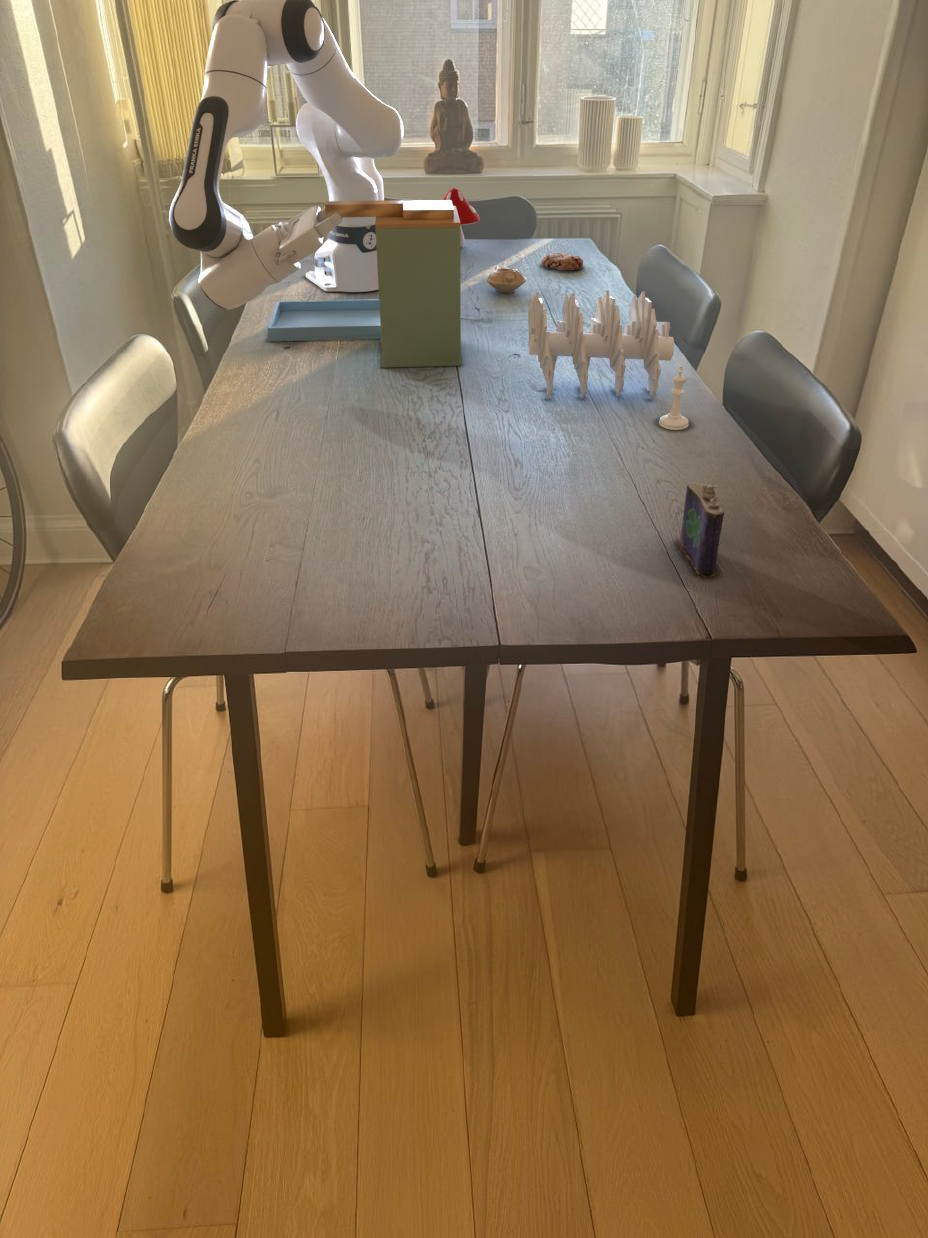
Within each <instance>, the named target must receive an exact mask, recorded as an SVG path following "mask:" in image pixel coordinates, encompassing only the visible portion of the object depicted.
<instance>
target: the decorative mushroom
mask: <svg viewBox="0 0 928 1238" xmlns="http://www.w3.org/2000/svg"><path fill="white" fill-rule="evenodd" d="M441 200H451V201H452V205H453V206H456V209H457V212H458V216H459V220H460V248H462V247H463V246H464V245H465V244H466V243H465V242H466V240H465V235H464V232H463V228H462V226H470V225H473V224H476V223H478V222H480V220H481V218H480V215H479V214H478V212H477V211H476V209H475V208H474V207H473V206H472V205H471V204H470V203H469V201H468V200H467V199H466V198H465V196H464V195H463V193H462V192H461V190H460V189H458V188H455V187H453V188H450V189H449V190H448V191H447V192H446V193H445V196H444V197H443V198H442V199H441Z"/></svg>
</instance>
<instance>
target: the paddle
mask: <svg viewBox="0 0 928 1238" xmlns="http://www.w3.org/2000/svg"><path fill="white" fill-rule="evenodd" d="M324 208H325V216H326V218H329V217H330V216H331V215H332V214H334V213H335V212H339V214H340V215H341V217H403V219H404V220H411V219H454V209H453V205H452V201H451V200H442V199H440V200H439V199H438V200H437V199H436V200H434V199H433V200H404V199H393V200H391V199H390V200H387V199H384V200H383V201H329V200H326V201H325V202H324Z"/></svg>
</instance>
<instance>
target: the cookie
mask: <svg viewBox="0 0 928 1238" xmlns="http://www.w3.org/2000/svg"><path fill="white" fill-rule="evenodd" d="M540 264H541V266H542V267H545V268H548V269H553V268H554V269H555V268H556V270H559V271H565V270H571V271H572V270H574V271H575V270H579V269H582V268H583V266H584V260H583V258H581V257H580V255H579V256H578V255H572V254H569V253H567V252H553V253H550V254H547V255H545V256H544V257H543V258H542V260H541V263H540Z"/></svg>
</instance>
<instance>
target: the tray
mask: <svg viewBox="0 0 928 1238" xmlns="http://www.w3.org/2000/svg"><path fill="white" fill-rule="evenodd" d="M267 337H268V342H305V341H307V342H309V341H311V342H312V341H350V340H351V341H355V340H381V326H380V306H379V298H369V299H368V298H367V299H366V298H365V299H362V298H361V299H360V298H359V299H317V300H316V299H315V300H314V299H313V300H276V301H275V305H274V308H273V310H272V314H271V317H270V320H269V322H268V325H267Z"/></svg>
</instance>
